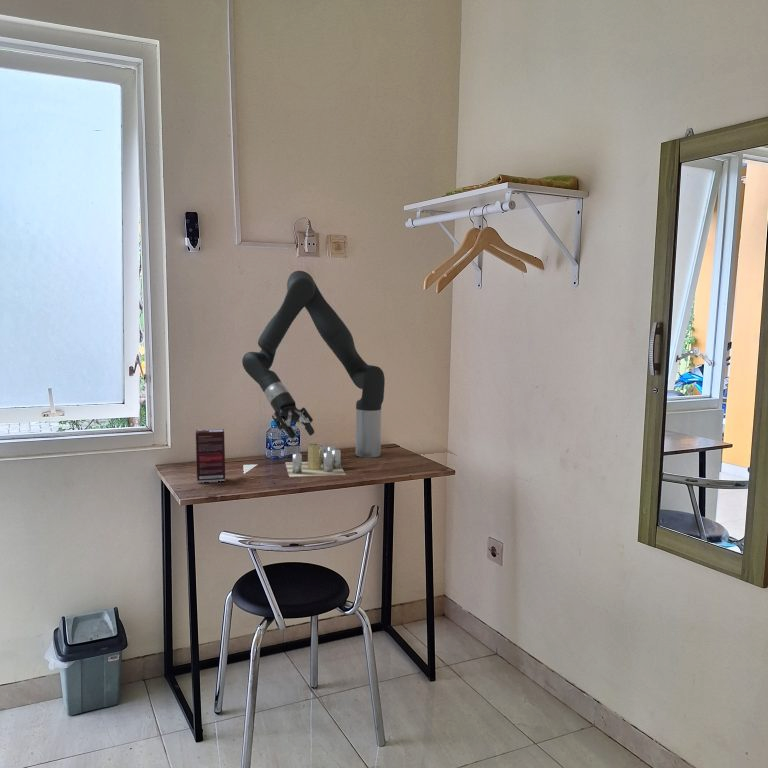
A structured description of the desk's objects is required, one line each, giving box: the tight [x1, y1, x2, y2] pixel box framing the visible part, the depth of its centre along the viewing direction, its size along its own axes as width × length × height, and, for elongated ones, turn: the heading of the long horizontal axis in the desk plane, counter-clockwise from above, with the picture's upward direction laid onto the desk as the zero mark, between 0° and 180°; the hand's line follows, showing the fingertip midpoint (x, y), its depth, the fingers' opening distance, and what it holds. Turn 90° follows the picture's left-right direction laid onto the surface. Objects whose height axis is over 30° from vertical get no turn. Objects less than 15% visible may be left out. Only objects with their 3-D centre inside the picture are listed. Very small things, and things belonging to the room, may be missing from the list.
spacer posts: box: [292, 443, 342, 474], centre depth 231 cm, size 16×16×6 cm
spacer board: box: [284, 461, 347, 478], centre depth 230 cm, size 20×18×1 cm
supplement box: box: [195, 428, 226, 484], centre depth 215 cm, size 9×5×16 cm, turn 105°
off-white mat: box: [242, 463, 259, 475], centre depth 229 cm, size 18×10×1 cm, turn 12°
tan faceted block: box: [307, 442, 322, 470], centre depth 230 cm, size 5×4×8 cm
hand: (303, 435), depth 232 cm, fingers open, 8 cm apart
